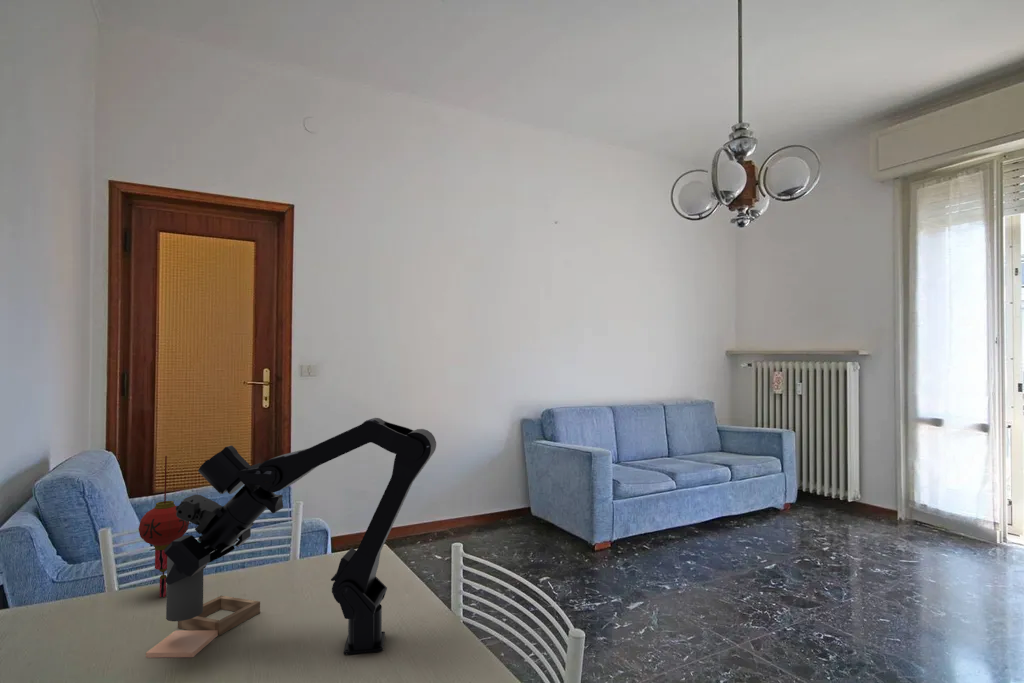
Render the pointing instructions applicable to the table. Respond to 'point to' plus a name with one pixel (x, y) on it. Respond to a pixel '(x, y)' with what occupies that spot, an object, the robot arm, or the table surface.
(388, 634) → the table surface
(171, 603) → the teal-capped grey cylinder
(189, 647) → the coaster
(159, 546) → the lantern
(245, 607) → the open square brown frame
